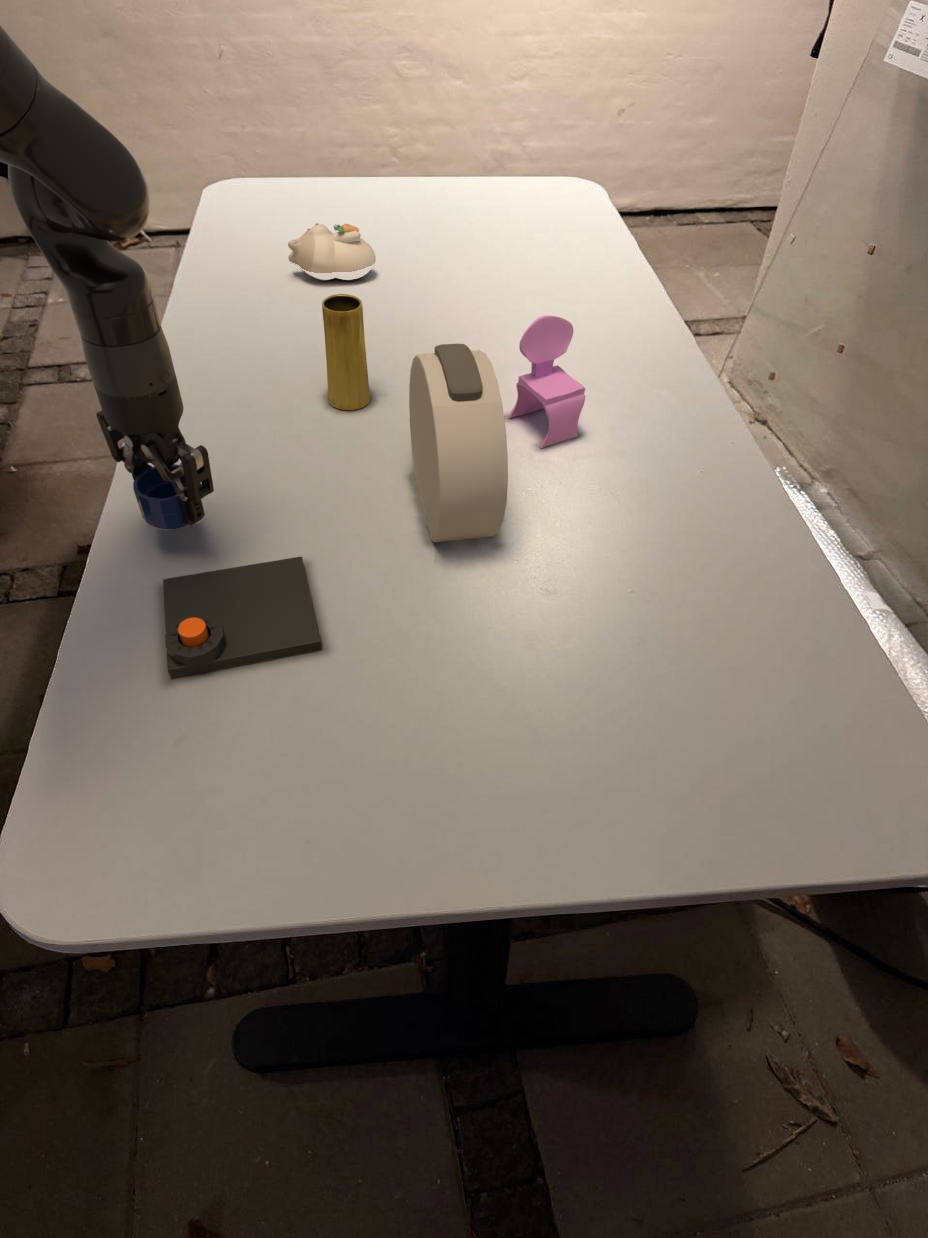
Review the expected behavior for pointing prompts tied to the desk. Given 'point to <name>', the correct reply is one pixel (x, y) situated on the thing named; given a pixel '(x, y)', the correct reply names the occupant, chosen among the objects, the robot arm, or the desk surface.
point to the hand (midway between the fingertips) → (172, 508)
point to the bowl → (158, 499)
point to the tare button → (193, 632)
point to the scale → (240, 616)
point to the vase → (345, 352)
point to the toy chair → (549, 379)
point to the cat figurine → (331, 250)
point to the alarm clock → (458, 442)
